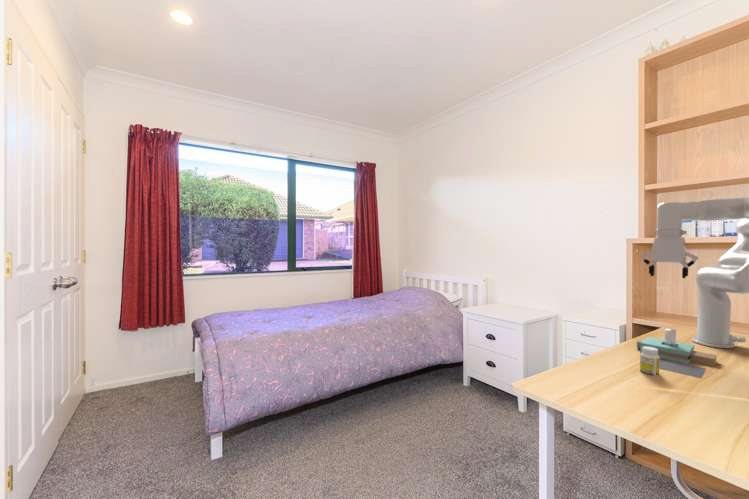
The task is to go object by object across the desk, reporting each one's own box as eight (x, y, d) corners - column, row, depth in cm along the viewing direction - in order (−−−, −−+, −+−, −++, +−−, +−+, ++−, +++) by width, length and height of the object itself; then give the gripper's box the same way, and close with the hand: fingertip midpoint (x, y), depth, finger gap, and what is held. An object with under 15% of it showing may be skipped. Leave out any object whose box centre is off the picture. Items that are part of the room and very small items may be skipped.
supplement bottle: (652, 371, 112) (653, 346, 112) (662, 377, 107) (663, 351, 107) (636, 370, 112) (637, 345, 112) (646, 376, 108) (647, 350, 107)
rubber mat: (706, 370, 113) (706, 368, 113) (701, 380, 105) (701, 378, 105) (659, 360, 122) (659, 358, 122) (651, 368, 114) (651, 366, 114)
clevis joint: (717, 361, 121) (717, 349, 121) (713, 370, 113) (713, 356, 113) (641, 346, 137) (641, 335, 137) (633, 353, 129) (633, 341, 129)
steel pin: (672, 355, 127) (673, 328, 126) (676, 358, 124) (677, 331, 124) (662, 354, 128) (663, 328, 127) (666, 357, 125) (667, 330, 125)
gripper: (700, 233, 132) (698, 277, 132) (643, 234, 145) (642, 274, 145) (697, 233, 127) (696, 279, 127) (639, 234, 140) (638, 275, 140)
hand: (667, 276), depth 136 cm, fingers open, 9 cm apart
